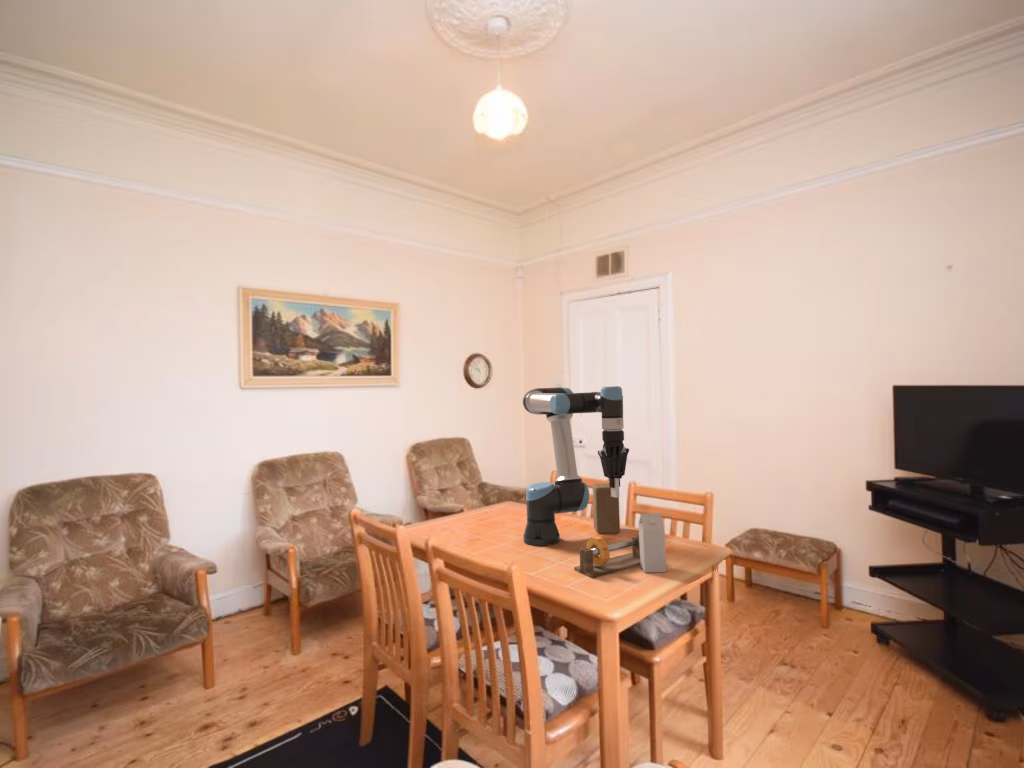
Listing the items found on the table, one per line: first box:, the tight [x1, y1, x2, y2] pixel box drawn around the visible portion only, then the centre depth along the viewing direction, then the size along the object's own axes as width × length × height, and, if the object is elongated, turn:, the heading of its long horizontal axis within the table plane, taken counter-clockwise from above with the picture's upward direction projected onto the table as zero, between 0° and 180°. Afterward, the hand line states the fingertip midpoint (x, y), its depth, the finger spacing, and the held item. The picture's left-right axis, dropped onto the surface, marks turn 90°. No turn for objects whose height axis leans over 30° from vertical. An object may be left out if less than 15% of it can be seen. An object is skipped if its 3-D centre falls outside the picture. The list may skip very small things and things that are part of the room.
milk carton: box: [638, 512, 667, 574], centre depth 175 cm, size 7×7×19 cm
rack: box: [573, 535, 641, 579], centre depth 180 cm, size 10×27×8 cm, turn 120°
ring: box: [586, 535, 611, 566], centre depth 176 cm, size 9×2×9 cm, turn 30°
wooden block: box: [592, 482, 621, 535], centre depth 225 cm, size 10×10×20 cm
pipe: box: [591, 539, 638, 556], centre depth 180 cm, size 3×24×3 cm, turn 121°
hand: (615, 496), depth 181 cm, fingers closed
